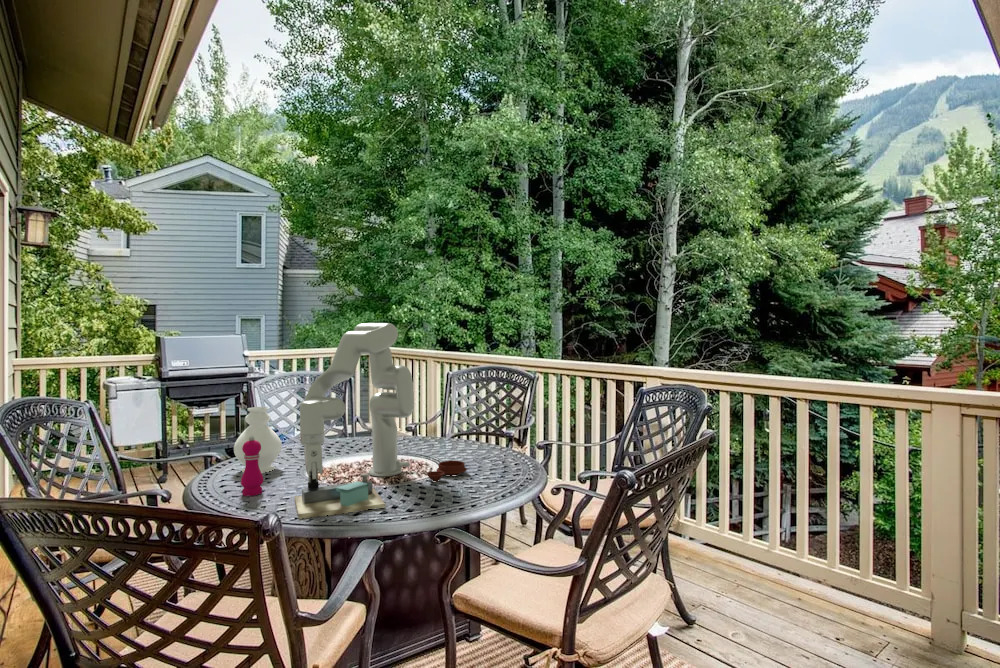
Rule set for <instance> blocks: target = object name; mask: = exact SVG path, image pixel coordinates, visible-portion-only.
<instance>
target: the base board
mask: <svg viewBox="0 0 1000 668" xmlns="http://www.w3.org/2000/svg"><path fill="white" fill-rule="evenodd" d="M369 477H370V474H369V473H362V474H361V473H360V478H361V481H362V482H363V483H366V482H367V481H368V478H369ZM294 504H295V509H296V513H297V514H296V515H297V518H299V519H298V520H302V518H304V519H311V518H310V517H312V518H318V517H317V516H320V517H328V516H335V514H336V515H342V513H344V514H349V513H348V512H353V513H356V512H355V511H361V510H368V509H375V508H383V507H385V508H386V503H385V501H384V500H383V498H382V497H381V496H380V494H379V493H378V492H377V490H376V488H374V487H373V493H372V494H369V495H368V499H367V500H364V501H361V502H358V503H355V504H353V505H350V506H343V505H340V498H339V499H333V500H326V501H319V502H312V503H305V504H304V502H303V501H302V495H296V496H294ZM361 512H362V511H361ZM327 515H328V516H327Z"/></svg>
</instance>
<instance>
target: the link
mask: <svg viewBox="0 0 1000 668" xmlns="http://www.w3.org/2000/svg"><path fill="white" fill-rule="evenodd" d="M359 482H362V480H361V481H359ZM350 483H351V482H346V483H341V484H334V485H325V486H319V487H317V488H310V489H308V488H304V489H303V488H302V489H301V496H302V501H303V502H304V504H305V503H312V502H319V501H326V500H333V499H339V498H340V492H339V491H336V488H337V487H340V486H343V485H347V484H350ZM366 483H368V495H369V494H372V493H373V488H374V487H373V486H374V485H373V481H372V480H367V482H366Z"/></svg>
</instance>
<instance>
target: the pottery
mask: <svg viewBox="0 0 1000 668" xmlns="http://www.w3.org/2000/svg"><path fill="white" fill-rule="evenodd" d="M465 464H466V463H465V462H463V461H461V460H460V461H459V460H445V461H441V462H439V463H438V467H437V469H436V470H434V471H429V472H427V473H426V476H427V477H428V479H430V480H431V481H432V480H433V481H438V480H441V479H442V478H443V477H444V476H445V475H450V476H449V477H453V476H452V475H458V474H459V475H461V473H465V472H466V471H468V469H467V468H466V465H465ZM444 474H445V475H444ZM459 475H458V476H459Z"/></svg>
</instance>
